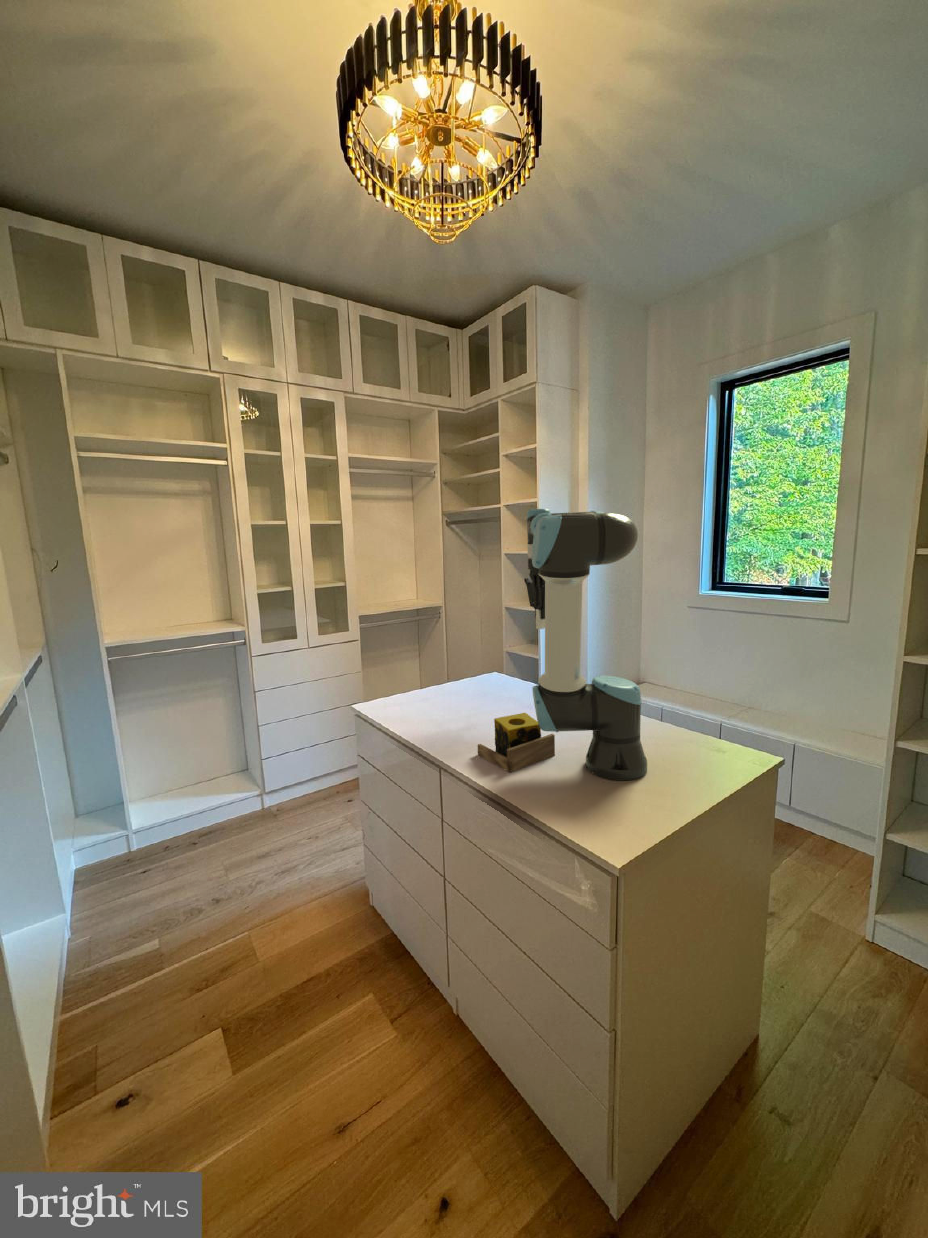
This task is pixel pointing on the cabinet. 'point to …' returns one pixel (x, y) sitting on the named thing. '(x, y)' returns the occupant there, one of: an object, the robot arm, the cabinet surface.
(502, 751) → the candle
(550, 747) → the dock
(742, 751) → the cabinet surface
